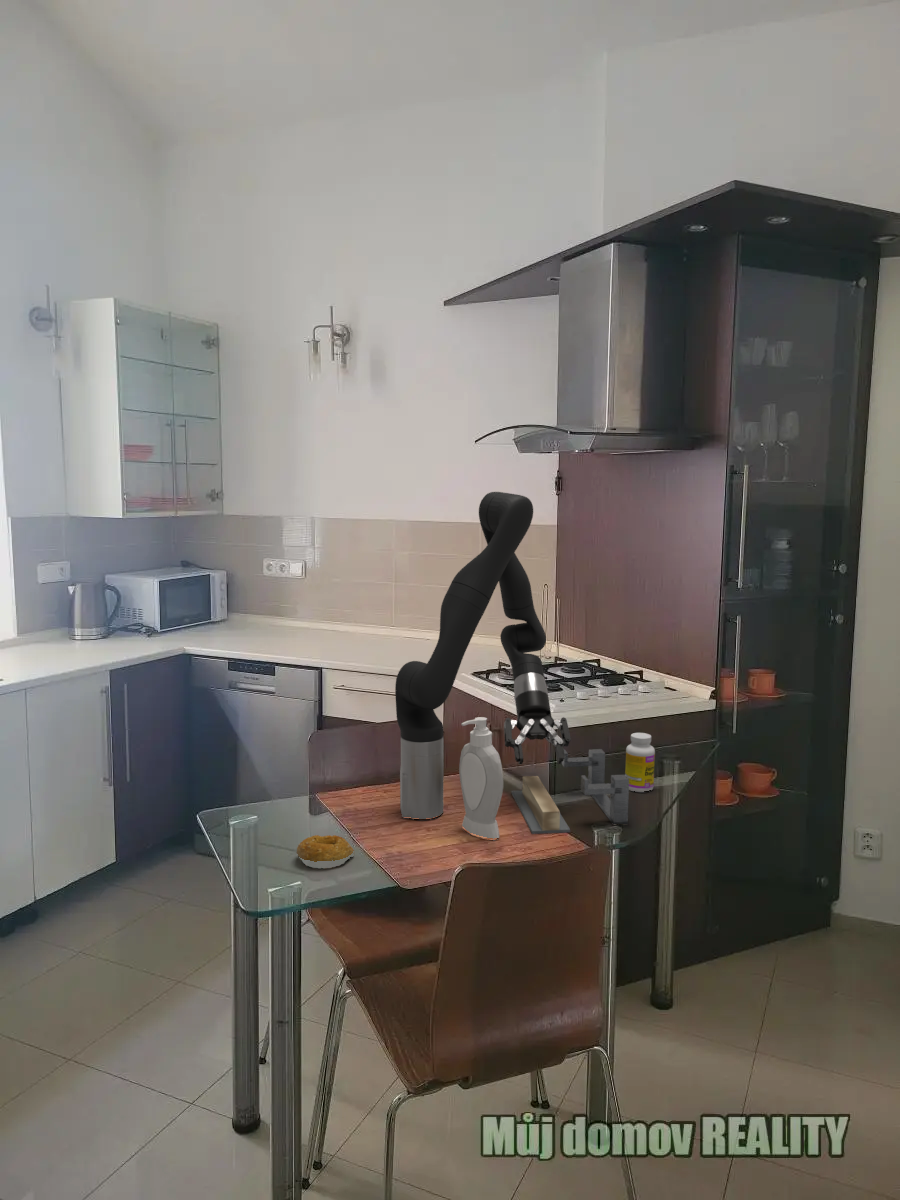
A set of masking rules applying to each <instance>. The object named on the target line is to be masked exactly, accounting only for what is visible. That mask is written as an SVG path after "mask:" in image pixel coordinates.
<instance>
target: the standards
mask: <svg viewBox="0 0 900 1200" xmlns="http://www.w3.org/2000/svg"><path fill="white" fill-rule="evenodd" d="M564 754H565V757H564V760H563V761H562V763H561V764H560V765H562V767H563V768H573V767H574V768H575V767H576V768H577V767H578V768H580V767H581V768H583V767H588V769H587V771H588V773H587V774H588V776H586V775H585V774H584V775H580V791H581V792H582V794H583V795H584V796H588V795H589V796H591V797H592V798H593V800H594V801H595V803H596V804H597V805H598V806H599V808H600V809H601V811H602V812H603V814H604V815H605V816H606V817H607V818H608V820H609V821H610V823H611V824H612V823H613V824H628V823H629V793H630V790H629V779H628V778H627V777H626V775H625V774H611V775H610V783H605V777H606V776H605V773H606V771H605V769H606V768H605V766H606V752H605V751H604V750H603V749H602V748H597V749H588V756H584V757H583V756H577V757H569V753H568V751H566V749H564ZM608 795H609V796H610V797H609V796H608ZM613 824H612V825H613ZM628 825H629V824H628Z"/></svg>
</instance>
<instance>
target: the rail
mask: <svg viewBox="0 0 900 1200" xmlns="http://www.w3.org/2000/svg"><path fill="white" fill-rule="evenodd" d="M521 790H522V793H523V795H524V797H525V799H526V801H527V803H528V804H529V806H530V808H531V810H532V812H533V814H534V816H535V817H536V819H537V821H538V823H539V825H540V827H541V828H542V830H543V831H545V830H559V824H560V814H561V812H560V809H559V808H558V806H557V804H556V803H555V801H554V799H553V798H552V797H551V795H550V793H549V792H548V790H547V788H546V786H545V785H544V784H543V782H542V780H541V779H540V777H539V776H538V775H530V776H527V775H523V776H522V789H521Z"/></svg>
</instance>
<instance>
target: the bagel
mask: <svg viewBox="0 0 900 1200" xmlns="http://www.w3.org/2000/svg"><path fill="white" fill-rule="evenodd" d="M353 851H354V852H355V849H354V848H353V847H352V846H351V844H350V843H349V842H348V841H347V840H346V839H345V838H343V837H341V836H339V835H333V834H332V835H324V836H323V835H322V836H321V835H319V834H317V835H316V834H315V835H312V836H309V837H307V838H305V839H303V840H302V841H301V842H300V843H298V844H297V847H296V854H298V855H297V857H298V856H299V857H300V858H302V859H304V860H310V861H314V862H317V861H332V860H333V861H335V860H340V859H343V858H346V857H348V856H349V855H351V854H352V853H353Z"/></svg>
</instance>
